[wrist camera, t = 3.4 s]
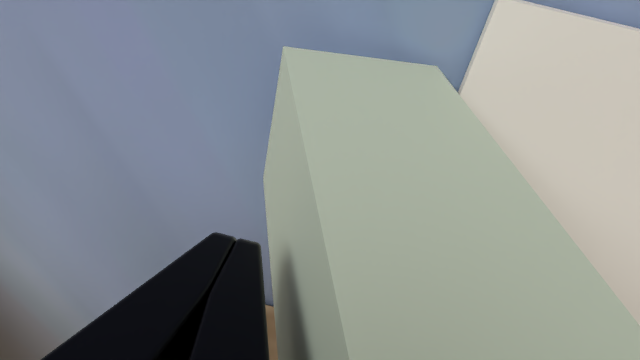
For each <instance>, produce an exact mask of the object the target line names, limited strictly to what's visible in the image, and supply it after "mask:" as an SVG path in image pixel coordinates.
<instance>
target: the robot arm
mask: <svg viewBox="0 0 640 360" xmlns="http://www.w3.org/2000/svg"><path fill="white" fill-rule="evenodd" d="M41 360H270V359H269V346H268V333H267V320H266V307H265V294H264V281H263V269H262V256H261V246H260V244H259V243H256V242H253V241H249V240H245V239H238V240H236V238H235V237H233V236H229V235H225V234H221V233H212V234H210V235H209V236H208V237H206V238H205V239H204V240H202V241H201V242H200V243H198V244H197V245H196V246H194V247H193V248H191V249H190V250H189V251H187V252H186V253H185V254H183V255H182V256H181V257H179V258H178V259H177V260H175V261H174V262H173V263H171V264H170V265H168V266H167V267H166V268H164V269H163V270H162V271H160V272H159V273H158V274H156V275H155V276H154V277H152V278H151V279H149V280H148V281H147V282H145V283H144V284H143V285H141V286H140V287H139V288H137V289H136V290H135V291H133V292H132V293H131V294H129V295H128V296H126V297H125V298H124V299H122V300H121V301H120V302H118V303H117V304H116V305H114V306H113V307H112V308H110V309H109V310H107V311H106V312H105V313H103V314H102V315H101V316H99V317H98V318H97V319H95V320H94V321H93V322H91V323H90V324H89V325H87V326H86V327H84V328H83V329H82V330H80V331H79V332H78V333H76V334H75V335H74V336H72V337H71V338H70V339H68V340H67V341H65V342H64V343H63V344H61V345H60V346H59V347H57V348H56V349H55V350H53V351H52V352H51V353H49V354H48V355H47V356H45V357H44V358H42V359H41Z"/></svg>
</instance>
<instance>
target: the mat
mask: <svg viewBox="0 0 640 360" xmlns="http://www.w3.org/2000/svg"><path fill="white" fill-rule="evenodd" d="M458 94H459V95H460V96H461V98H462V99H463V100H464V102H465V103H466V104H467V105H468V107H469V108H470V109H471V111H472V112H473V113H474V114H475V116H476V117H477V118H478V119H479V121H480V122H481V123H482V125H483V126H484V127H485V128H486V130H487V131H488V132H489V134H490V135H491V136H492V137H493V139H494V140H495V141H496V142H497V144H498V145H499V146H500V148H501V149H502V150H503V151H504V153H505V154H506V155H507V157H508V158H509V159H510V160H511V162H512V163H513V164H514V165H515V167H516V168H517V169H518V171H519V172H520V173H521V174H522V176H523V177H524V178H525V180H526V181H527V182H528V183H529V185H530V186H531V187H532V188H533V190H534V191H535V192H536V194H537V195H538V196H539V197H540V199H541V200H542V201H543V203H544V204H545V205H546V206H547V208H548V209H549V210H550V211H551V213H552V214H553V215H554V217H555V218H556V219H557V220H558V222H559V223H560V224H561V226H562V227H563V228H564V229H565V231H566V232H567V233H568V234H569V236H570V237H571V238H572V240H573V241H574V242H575V243H576V245H577V246H578V247H579V249H580V250H581V251H582V252H583V254H584V255H585V256H586V257H587V259H588V260H589V261H590V263H591V264H592V265H593V266H594V268H595V269H596V270H597V272H598V273H599V274H600V275H601V277H602V278H603V279H604V280H605V282H606V283H607V284H608V286H609V287H610V288H611V289H612V291H613V292H614V293H615V295H616V296H617V297H618V298H619V300H620V301H621V302H622V303H623V305H624V306H625V307H626V309H627V310H628V311H629V312H630V314H631V315H632V316H633V318H634V319H635V320H636V321H637V323H638V324H639V325H640V29H638V28H634V27H630V26H626V25H621V24H617V23H613V22H609V21H605V20H601V19H597V18H593V17H589V16H584V15H580V14H576V13H572V12H568V11H564V10H560V9H556V8H551V7H547V6H543V5H539V4H535V3H531V2H527V1H523V0H495V1H494V4H493V6H492V9H491V11H490V14H489V16H488V19H487V21H486V24H485V26H484V29H483V31H482V34H481V36H480V39H479V41H478V44H477V46H476V49H475V51H474V54H473V56H472V59H471V61H470V64H469V66H468V68H467V71H466V73H465V76H464V78H463V81H462V83H461V86H460V88H459V91H458Z"/></svg>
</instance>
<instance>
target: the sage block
mask: <svg viewBox="0 0 640 360" xmlns="http://www.w3.org/2000/svg"><path fill="white" fill-rule="evenodd" d="M263 182H264V194H265V206H266V218H267V231H268V243H269V255H270V267H271V279H272V291H273V303H274V315H275V327H276V339H277V351H278V360H640V325H639V324H638V323H637V321H636V320H635V319H634V318H633V316H632V315H631V314H630V312H629V311H628V310H627V309H626V307H625V306H624V305H623V303H622V302H621V301H620V300H619V298H618V297H617V296H616V295H615V293H614V292H613V291H612V289H611V288H610V287H609V286H608V284H607V283H606V282H605V280H604V279H603V278H602V277H601V275H600V274H599V273H598V272H597V270H596V269H595V268H594V266H593V265H592V264H591V263H590V261H589V260H588V259H587V257H586V256H585V255H584V254H583V252H582V251H581V250H580V249H579V247H578V246H577V245H576V243H575V242H574V241H573V240H572V238H571V237H570V236H569V234H568V233H567V232H566V231H565V229H564V228H563V227H562V226H561V224H560V223H559V222H558V220H557V219H556V218H555V217H554V215H553V214H552V213H551V211H550V210H549V209H548V208H547V206H546V205H545V204H544V203H543V201H542V200H541V199H540V197H539V196H538V195H537V194H536V192H535V191H534V190H533V188H532V187H531V186H530V185H529V183H528V182H527V181H526V180H525V178H524V177H523V176H522V174H521V173H520V172H519V171H518V169H517V168H516V167H515V165H514V164H513V163H512V162H511V160H510V159H509V158H508V157H507V155H506V154H505V153H504V151H503V150H502V149H501V148H500V146H499V145H498V144H497V142H496V141H495V140H494V139H493V137H492V136H491V135H490V134H489V132H488V131H487V130H486V128H485V127H484V126H483V125H482V123H481V122H480V121H479V119H478V118H477V117H476V116H475V114H474V113H473V112H472V111H471V109H470V108H469V107H468V105H467V104H466V103H465V102H464V100H463V99H462V98H461V96H460V95H459V94H458V93H457V91H456V90H455V89H454V88H453V86H452V85H451V84H450V82H449V81H448V80H447V79H446V77H445V76H444V75H443V73H442V72H441V71H440V70H439V68H438V67H437V66H432V65H424V64H416V63H408V62H401V61H393V60H385V59H377V58H370V57H362V56H354V55H346V54H339V53H331V52H323V51H315V50H308V49H300V48H292V47H284V46H283V51H282V58H281V64H280V71H279V78H278V84H277V91H276V97H275V104H274V111H273V117H272V124H271V130H270V137H269V144H268V150H267V157H266V163H265V170H264V177H263Z"/></svg>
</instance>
